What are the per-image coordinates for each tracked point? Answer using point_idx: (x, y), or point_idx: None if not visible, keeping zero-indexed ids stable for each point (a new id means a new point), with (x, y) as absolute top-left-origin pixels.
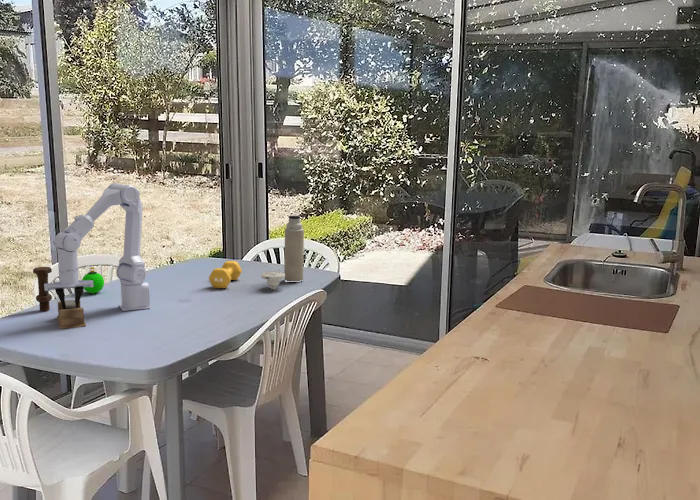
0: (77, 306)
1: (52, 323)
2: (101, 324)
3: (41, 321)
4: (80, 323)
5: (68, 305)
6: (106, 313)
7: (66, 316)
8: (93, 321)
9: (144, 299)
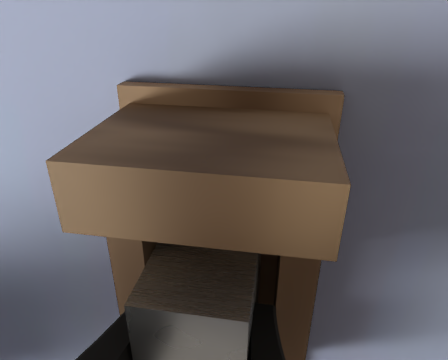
0: None
1: (359, 266)
2: (6, 83)
3: (416, 337)
4: (156, 107)
5: (216, 310)
6: (15, 307)
7: (271, 144)
8: None
9: None
